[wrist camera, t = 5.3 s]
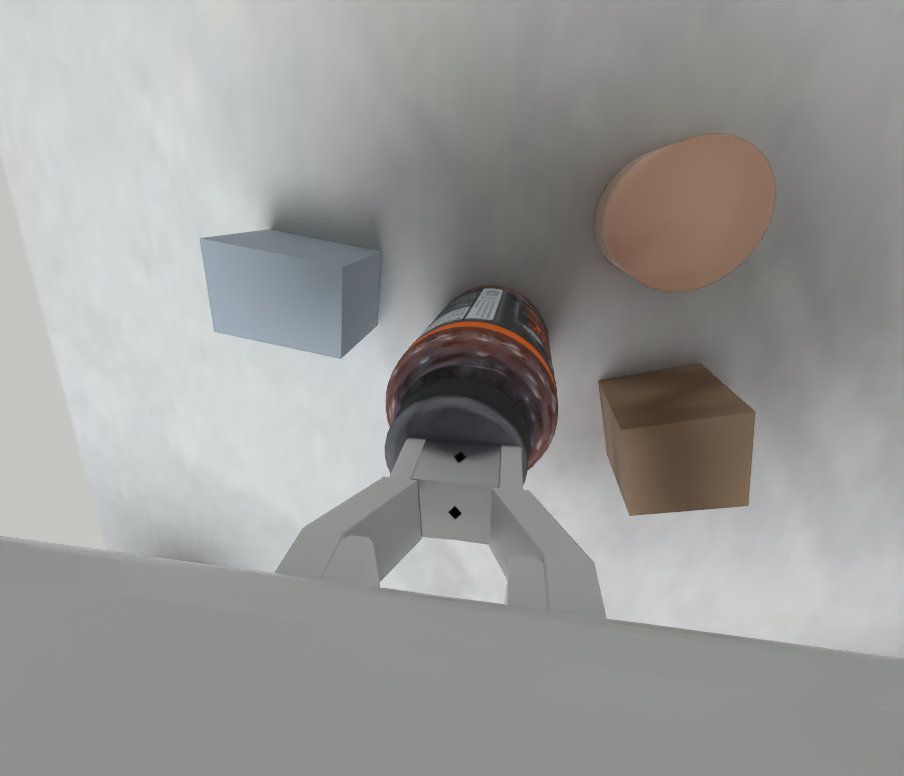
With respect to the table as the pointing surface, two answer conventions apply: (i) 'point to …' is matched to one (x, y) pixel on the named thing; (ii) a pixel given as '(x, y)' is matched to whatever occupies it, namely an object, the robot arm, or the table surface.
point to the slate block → (292, 290)
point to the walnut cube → (677, 440)
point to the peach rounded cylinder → (686, 212)
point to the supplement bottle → (477, 378)
